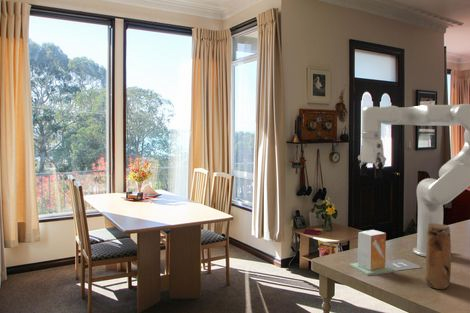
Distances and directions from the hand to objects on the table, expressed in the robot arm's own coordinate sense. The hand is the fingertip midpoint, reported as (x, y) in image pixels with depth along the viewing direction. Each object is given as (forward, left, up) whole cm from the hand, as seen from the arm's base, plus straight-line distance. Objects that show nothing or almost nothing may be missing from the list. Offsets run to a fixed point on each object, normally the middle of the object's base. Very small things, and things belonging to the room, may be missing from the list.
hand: (371, 176), depth 165 cm
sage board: (+13, +18, -32) cm, 39 cm away
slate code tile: (0, +18, -32) cm, 37 cm away
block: (+2, +38, -32) cm, 50 cm away
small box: (+13, +18, -32) cm, 39 cm away
